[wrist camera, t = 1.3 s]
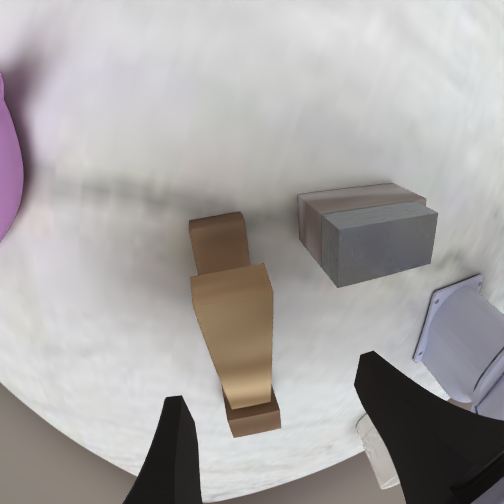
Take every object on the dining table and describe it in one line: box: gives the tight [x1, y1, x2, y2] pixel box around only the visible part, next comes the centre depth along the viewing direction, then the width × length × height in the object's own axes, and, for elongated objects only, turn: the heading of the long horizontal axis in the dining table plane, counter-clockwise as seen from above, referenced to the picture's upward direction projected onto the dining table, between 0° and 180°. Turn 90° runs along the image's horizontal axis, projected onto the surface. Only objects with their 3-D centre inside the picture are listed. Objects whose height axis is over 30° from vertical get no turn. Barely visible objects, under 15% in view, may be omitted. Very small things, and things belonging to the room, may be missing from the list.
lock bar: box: [322, 201, 438, 288], centre depth 15 cm, size 3×6×2 cm, turn 97°
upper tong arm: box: [190, 263, 273, 409], centre depth 16 cm, size 14×3×2 cm, turn 7°
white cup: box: [356, 414, 400, 489], centre depth 28 cm, size 8×8×10 cm
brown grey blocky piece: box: [189, 183, 426, 438], centre depth 20 cm, size 18×14×4 cm
